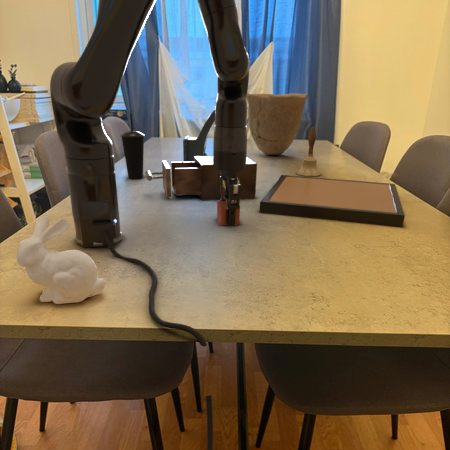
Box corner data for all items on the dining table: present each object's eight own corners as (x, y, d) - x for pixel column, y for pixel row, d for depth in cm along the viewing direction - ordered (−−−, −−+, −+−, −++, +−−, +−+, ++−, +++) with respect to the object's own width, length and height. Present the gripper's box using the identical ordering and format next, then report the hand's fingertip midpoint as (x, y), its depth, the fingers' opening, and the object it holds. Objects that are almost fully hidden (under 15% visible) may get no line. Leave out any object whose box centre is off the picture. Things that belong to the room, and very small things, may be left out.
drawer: (148, 198, 119) (146, 168, 115) (145, 188, 129) (144, 160, 125) (218, 195, 123) (218, 167, 119) (210, 186, 133) (210, 159, 129)
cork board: (402, 226, 105) (393, 193, 135) (404, 215, 103) (394, 183, 134) (259, 212, 113) (280, 183, 143) (259, 201, 111) (281, 174, 142)
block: (239, 224, 103) (240, 205, 101) (220, 225, 102) (221, 206, 100) (234, 218, 107) (235, 200, 105) (216, 219, 106) (217, 201, 104)
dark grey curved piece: (228, 168, 163) (229, 97, 152) (182, 166, 164) (181, 96, 153) (229, 163, 173) (231, 96, 161) (186, 161, 174) (185, 94, 162)
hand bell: (296, 175, 155) (300, 128, 147) (298, 171, 162) (302, 125, 154) (319, 177, 153) (325, 129, 145) (320, 172, 160) (326, 126, 153)
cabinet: (201, 200, 122) (201, 164, 117) (194, 189, 133) (194, 156, 128) (255, 198, 125) (257, 163, 121) (243, 188, 136) (245, 155, 132)
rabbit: (21, 305, 66) (4, 230, 60) (44, 279, 74) (31, 211, 69) (100, 307, 66) (90, 232, 60) (114, 281, 74) (107, 213, 69)
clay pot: (233, 150, 200) (235, 91, 189) (288, 149, 208) (293, 91, 196) (255, 161, 177) (258, 94, 166) (315, 159, 185) (323, 95, 173)
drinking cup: (119, 178, 144) (113, 113, 135) (133, 174, 150) (129, 111, 141) (137, 181, 141) (133, 114, 132) (151, 176, 147) (148, 113, 138)
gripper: (207, 142, 102) (207, 213, 110) (220, 153, 90) (218, 231, 98) (238, 142, 104) (235, 212, 112) (255, 152, 91) (250, 229, 99)
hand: (228, 220), depth 105 cm, fingers closed on block, 4 cm apart
